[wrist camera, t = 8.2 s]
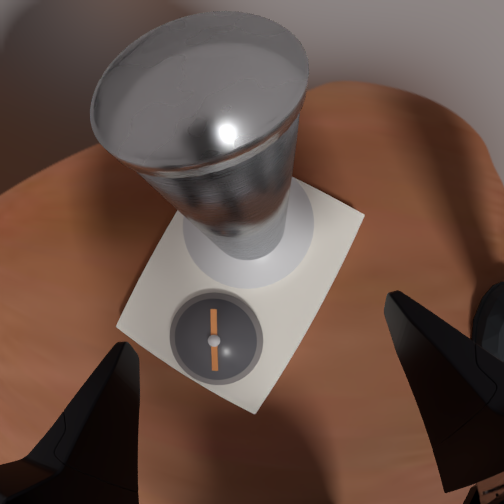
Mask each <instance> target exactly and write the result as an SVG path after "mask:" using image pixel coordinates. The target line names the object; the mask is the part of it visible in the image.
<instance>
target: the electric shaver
mask: <svg viewBox="0 0 504 504" xmlns="http://www.w3.org/2000/svg"><path fill="white" fill-rule="evenodd" d="M472 341H473V342H474V343H476V344H478V345H479V346H480V347H482V348H483V349H485V350H486V351H487V352H489V353H490V354H492V355H493V356H495V357H496V358H498V359H499V360H501V361H502V362H504V282H500V283H498V284H495V285H493V286H492V287H491V288H490V289H489V291H488V292H487V293H486V294H485V295H484V296H483V298H482V300H481V303H480V305H479V308H478V310H477V312H476V315H475V317H474V319H473V333H472Z"/></svg>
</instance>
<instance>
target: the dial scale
mask: <svg viewBox="0 0 504 504" xmlns="http://www.w3.org/2000/svg"><path fill="white" fill-rule="evenodd" d="M364 216H365V215H364V214H362V213H360V212H358V211H357V210H355V209H353V208H351V207H350V206H348V205H346V204H344V203H342V202H340V201H339V200H337V199H335V198H333V197H331V196H329V195H327V194H325V193H323V192H322V191H320V190H318V189H316V188H314V187H312V186H310V185H308V184H306V183H304V182H302V181H300V180H298V179H296V178H294V177H292V180H291V187H290V195H289V202H288V209H287V216H286V223H285V230H284V234H283V237H282V239H281V241H280V243H279V244H278V246H277V247H276V248H275V249H274V250H273V251H272V252H270V253H269V254H268V255H266V256H264V257H262V258H259V259H255V260H239V259H236V258H233V257H231V256H229V255H227V254H226V253H224V252H223V251H222V250H221V249H220V248H219V247H218V246H216V245H215V244H214V243H213V242H212V241H211V240H210V239H209V238H208V237H207V236H205V235H204V234H203V233H202V232H201V231H200V230H199V229H198V228H197V227H196V226H194V225H193V224H192V223H191V222H190V221H189V220H188V219H187V218H186V217H185V216H184V215H182V214H181V213H180V212H179V211H178V210H177V212H176V214H175V215H174V217H173V219H172V221H171V222H170V224H169V226H168V227H167V229H166V231H165V233H164V234H163V236H162V238H161V240H160V241H159V243H158V245H157V247H156V249H155V250H154V252H153V254H152V256H151V258H150V260H149V261H148V263H147V265H146V267H145V269H144V271H143V273H142V275H141V277H140V278H139V280H138V282H137V284H136V286H135V288H134V290H133V292H132V294H131V296H130V298H129V300H128V302H127V304H126V306H125V308H124V311H123V313H122V315H121V317H120V319H119V321H118V323H117V325H116V327H117V328H118V329H120V330H121V331H122V332H123V333H125V334H126V335H127V336H129V337H130V338H131V339H133V340H134V341H135V342H137V343H138V344H139V345H141V346H142V347H144V348H145V349H146V350H148V351H149V352H151V353H152V354H153V355H155V356H156V357H158V358H159V359H161V360H162V361H164V362H165V363H167V364H168V365H170V366H171V367H173V368H174V369H176V370H177V371H179V372H180V373H182V374H184V375H185V376H187V377H188V378H190V379H192V380H193V381H195V382H196V383H198V384H200V385H201V386H203V387H205V388H207V389H208V390H210V391H212V392H213V393H215V394H217V395H219V396H221V397H222V398H224V399H226V400H228V401H230V402H231V403H233V404H235V405H237V406H239V407H241V408H243V409H245V410H247V411H249V412H251V413H253V414H256V412H257V411H258V409H259V408H260V406H261V405H262V403H263V402H264V400H265V399H266V397H267V396H268V394H269V393H270V391H271V390H272V388H273V386H274V385H275V383H276V382H277V380H278V379H279V377H280V375H281V374H282V372H283V370H284V369H285V367H286V366H287V364H288V362H289V361H290V359H291V357H292V356H293V354H294V352H295V351H296V349H297V347H298V345H299V344H300V342H301V340H302V339H303V337H304V335H305V333H306V332H307V330H308V328H309V326H310V324H311V323H312V321H313V319H314V317H315V315H316V314H317V312H318V310H319V308H320V306H321V304H322V302H323V300H324V299H325V297H326V295H327V293H328V291H329V289H330V287H331V285H332V283H333V281H334V279H335V277H336V275H337V273H338V271H339V269H340V267H341V265H342V263H343V261H344V259H345V257H346V255H347V253H348V251H349V249H350V246H351V244H352V242H353V240H354V238H355V236H356V233H357V231H358V229H359V227H360V225H361V222H362V220H363V218H364Z"/></svg>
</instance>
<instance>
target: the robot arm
mask: <svg viewBox="0 0 504 504" xmlns="http://www.w3.org/2000/svg"><path fill="white" fill-rule="evenodd" d="M384 315H385V318H386V321H387V324H388V327H389V331H390V334H391V337H392V340H393V343H394V346H395V350H396V353H397V355H398V358H399V360H400V362H401V365H402V367H403V370H404V372H405V374H406V377H407V379H408V382H409V384H410V387H411V389H412V392H413V395H414V397H415V400H416V402H417V405H418V408H419V411H420V413H421V416H422V419H423V422H424V425H425V428H426V431H427V434H428V437H429V440H430V443H431V446H432V448H433V453H434V456H435V459H436V463H437V466H438V470H439V473H440V477H441V481H442V485H443V489H444V492H445V493H448V492H451V491H454V490H457V489H461V488H464V487H467V486H469V485H472V484H475V483H476V485H474V486H473V487H471V488H470V490H469V493H468V495H467V497H466V499H465V501H464V503H463V504H504V362H502V361H501V360H499V359H498V358H496V357H495V356H493V355H492V354H490V353H489V352H487V351H486V350H485V349H483V348H482V347H480V346H479V345H478V344H476V343H474V342H473V341H472V340H471V339H469V338H468V337H466V336H465V335H464V334H462V333H461V332H459V331H458V330H457V329H455V328H454V327H452V326H451V325H450V324H448V323H447V322H445V321H444V320H442V319H441V318H439V317H438V316H437V315H435V314H434V313H432V312H431V311H429V310H428V309H426V308H425V307H423V306H422V305H420V304H419V303H417V302H416V301H414V300H413V299H411V298H410V297H408V296H407V295H405V294H404V293H402V292H401V291H398V290H397V291H393V292H390V293H388V294H387V296H386V302H385V307H384ZM139 406H140V375H139V357H138V354H137V353H136V352H135V350H134V349H133V348H132V347H131V345H130V344H129V343H128V342H117V343H116V344H115V345H114V346H113V348H112V349H111V350H110V351H109V353H108V354H107V355H106V356H105V358H104V359H103V360H102V361H101V363H100V364H99V365H98V366H97V368H96V369H95V370H94V372H93V373H92V374H91V375H90V377H89V378H88V379H87V381H86V382H85V383H84V384H83V386H82V387H81V388H80V390H79V391H78V392H77V394H76V395H75V396H74V398H73V399H72V400H71V402H70V403H69V404H68V406H67V407H66V408H65V410H64V412H62V414H61V415H60V417H59V418H58V419H57V421H56V422H55V423H54V424H53V426H52V427H51V428H50V430H49V431H48V432H47V433H46V434H45V436H44V437H43V438H42V439H41V440H40V441H39V443H38V444H37V445H36V446H35V447H34V448H33V450H32V451H31V452H30V453H29V454H28V455H27V456H26V457H24V458H23V459H20V460H17V461H14V462H10V463H6V464H2V465H0V504H139V498H138V424H139Z"/></svg>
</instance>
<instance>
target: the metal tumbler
mask: <svg viewBox="0 0 504 504" xmlns="http://www.w3.org/2000/svg"><path fill="white" fill-rule="evenodd" d="M308 74H309V64H308V58H307V55H306V52H305V50H304V48H303V46H302V44H301V43H300V41H299V40H298V39H297V38H296V37H295V36H294V35H293V34H292V33H291V32H290V31H289V30H287V29H286V28H285V27H283V26H281V25H280V24H278V23H276V22H274V21H272V20H270V19H267V18H264V17H261V16H258V15H254V14H250V13H243V12H231V11H221V12H220V11H217V12H207V13H200V14H195V15H190V16H186V17H183V18H180V19H177V20H174V21H171V22H168V23H166V24H164V25H161V26H159V27H157V28H155V29H153V30H151V31H150V32H148V33H146V34H144V35H143V36H141V37H140V38H139V39H137V40H136V41H134V42H133V43H132V44H130V45H129V46H128V47H127V48H125V49H124V50H123V51H122V52H121V53H120V54H119V55H118V56H117V57H116V58H115V59H114V60H113V61H112V63H111V64H110V65H109V66H108V68H107V69H106V70H105V72H104V74H103V76H102V77H101V78H100V80H99V82H98V84H97V86H96V89H95V91H94V94H93V97H92V101H91V107H90V120H91V126H92V129H93V132H94V134H95V136H96V138H97V140H98V141H99V142H100V144H101V145H102V146H103V147H104V148H105V149H106V150H107V151H108V152H110V153H111V154H112V155H113V156H114V157H115V158H116V159H117V160H118V161H119V162H120V163H122V164H123V165H125V166H127V167H128V168H130V169H132V170H134V171H136V172H137V173H138V174H139V175H140V176H142V177H143V178H144V179H145V180H146V181H147V182H148V183H149V184H150V185H151V186H152V187H153V188H154V189H155V190H157V191H158V192H159V193H160V194H161V195H162V196H163V197H164V198H165V199H166V200H167V201H168V202H169V203H171V204H172V205H173V206H174V207H175V208H176V209H177V210H178V211H179V212H180V213H181V214H182V215H184V216H185V217H186V218H187V219H188V220H189V221H190V222H191V223H192V224H193V225H194V226H196V227H197V228H198V229H199V230H200V231H201V232H202V233H203V234H204V235H205V236H207V237H208V238H209V239H210V240H211V241H212V242H213V243H214V244H215V245H216V246H218V247H219V248H220V249H221V250H222V251H223V252H224V253H226V254H227V255H229V256H231V257H233V258H236V259H239V260H255V259H259V258H262V257H264V256H266V255H268V254H269V253H270V252H272V251H273V250H274V249H275V248H276V247H277V246H278V244H279V243H280V241H281V239H282V237H283V234H284V230H285V223H286V216H287V209H288V202H289V195H290V187H291V180H292V172H293V164H294V157H295V148H296V140H297V132H298V123H299V115H300V111H301V109H302V106H303V103H304V100H305V97H306V90H307V82H308Z"/></svg>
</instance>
